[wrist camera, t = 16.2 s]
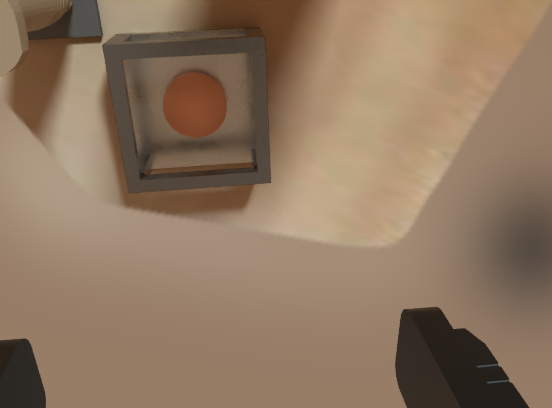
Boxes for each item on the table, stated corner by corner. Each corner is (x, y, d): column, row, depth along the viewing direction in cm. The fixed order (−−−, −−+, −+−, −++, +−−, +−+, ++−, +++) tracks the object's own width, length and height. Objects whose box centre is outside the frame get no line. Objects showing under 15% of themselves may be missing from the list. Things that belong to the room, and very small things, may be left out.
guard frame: (116, 34, 39) (102, 45, 34) (259, 27, 39) (265, 37, 35) (138, 167, 44) (128, 193, 39) (265, 158, 44) (271, 182, 40)
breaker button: (160, 73, 40) (158, 77, 38) (224, 69, 40) (224, 73, 39) (168, 134, 42) (167, 139, 41) (228, 130, 42) (229, 135, 41)
